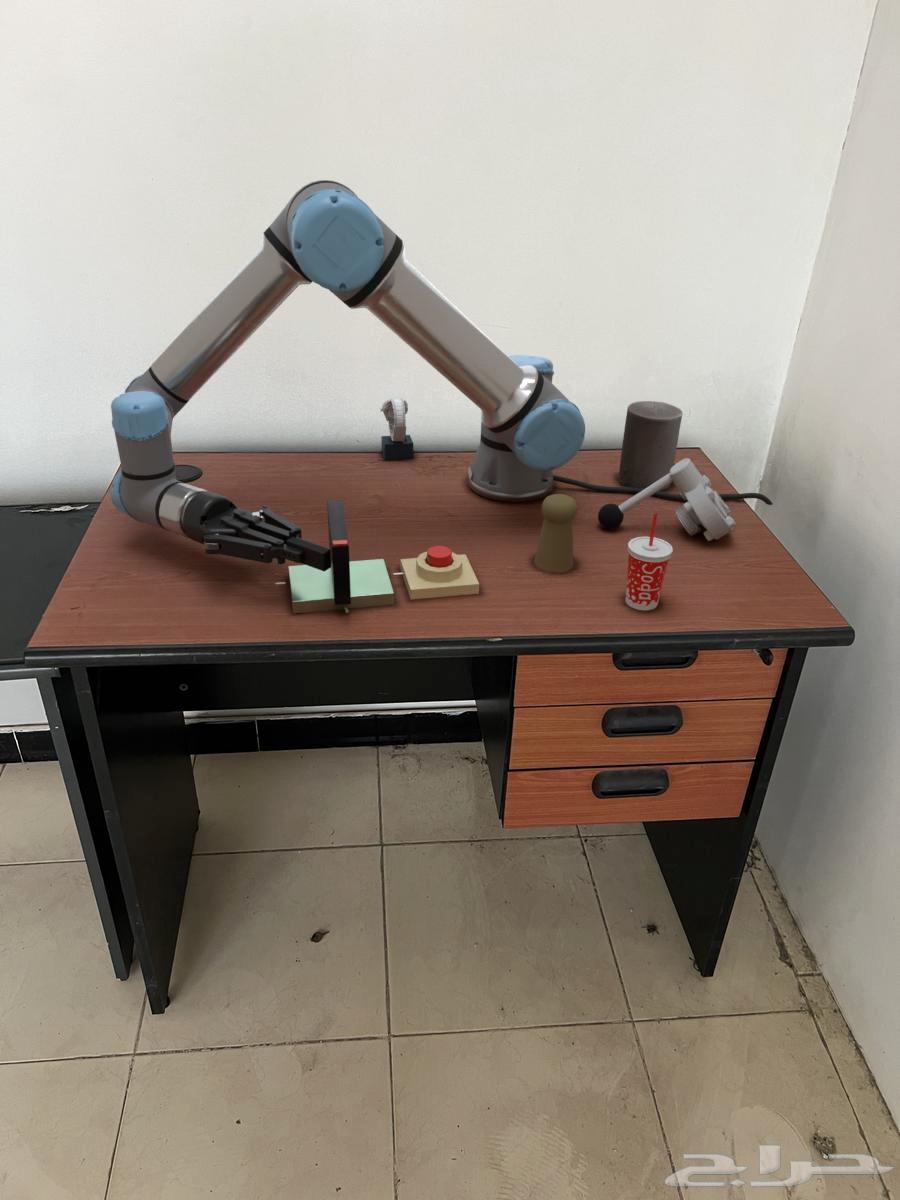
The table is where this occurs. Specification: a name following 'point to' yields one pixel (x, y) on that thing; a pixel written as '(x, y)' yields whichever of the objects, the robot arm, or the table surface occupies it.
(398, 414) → the watch
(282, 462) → the table surface
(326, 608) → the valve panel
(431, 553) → the red push button
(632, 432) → the pillar candle
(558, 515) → the olive pawn
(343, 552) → the black panel
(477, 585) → the button box
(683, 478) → the mechanical valve
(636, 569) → the beverage cup
